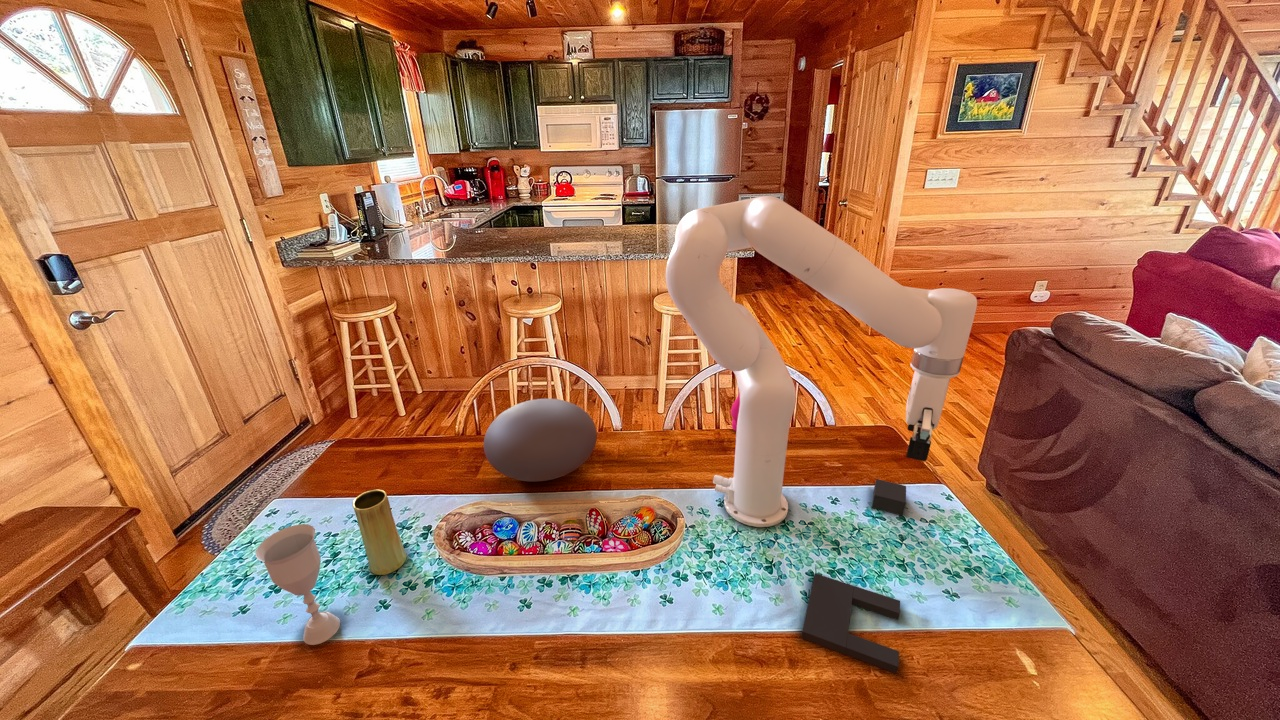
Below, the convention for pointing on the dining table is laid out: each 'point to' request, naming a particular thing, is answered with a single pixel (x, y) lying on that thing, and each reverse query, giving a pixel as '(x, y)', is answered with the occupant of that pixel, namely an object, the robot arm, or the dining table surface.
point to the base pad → (847, 621)
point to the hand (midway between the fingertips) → (916, 444)
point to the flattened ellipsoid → (540, 440)
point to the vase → (379, 532)
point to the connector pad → (889, 497)
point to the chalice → (298, 575)
